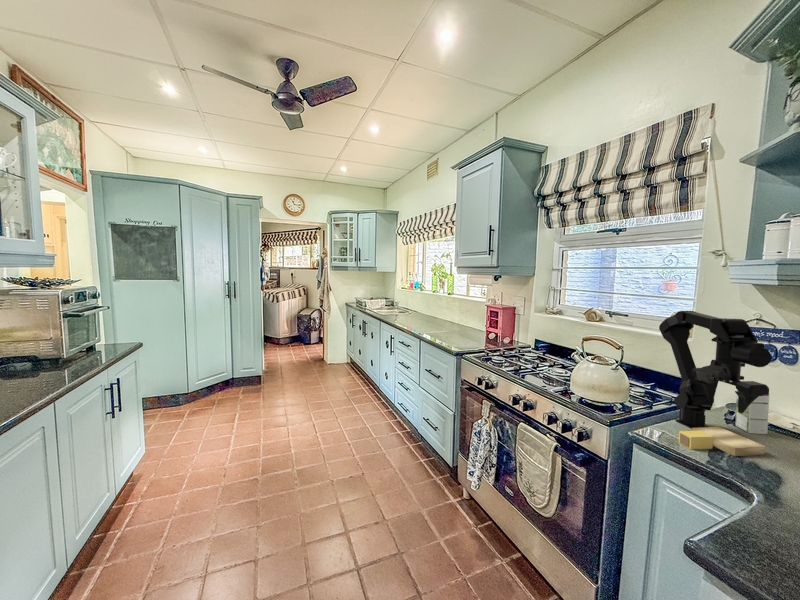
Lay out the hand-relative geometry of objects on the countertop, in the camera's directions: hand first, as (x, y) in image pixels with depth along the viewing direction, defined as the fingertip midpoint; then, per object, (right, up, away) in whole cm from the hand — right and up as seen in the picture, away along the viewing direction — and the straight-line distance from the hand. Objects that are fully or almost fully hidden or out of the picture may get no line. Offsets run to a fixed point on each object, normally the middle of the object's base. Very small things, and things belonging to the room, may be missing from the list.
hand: (724, 406), depth 102 cm
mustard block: (-7, -10, -1) cm, 12 cm away
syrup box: (+18, -12, +9) cm, 24 cm away
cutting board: (0, -12, 0) cm, 12 cm away
